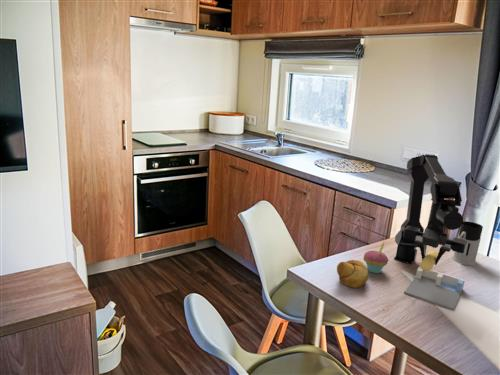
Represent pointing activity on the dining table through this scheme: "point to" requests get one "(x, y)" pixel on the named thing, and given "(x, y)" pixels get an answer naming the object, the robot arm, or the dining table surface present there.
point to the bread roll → (352, 273)
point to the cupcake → (375, 260)
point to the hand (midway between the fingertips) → (429, 262)
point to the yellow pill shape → (429, 261)
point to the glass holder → (469, 243)
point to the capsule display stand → (436, 288)
